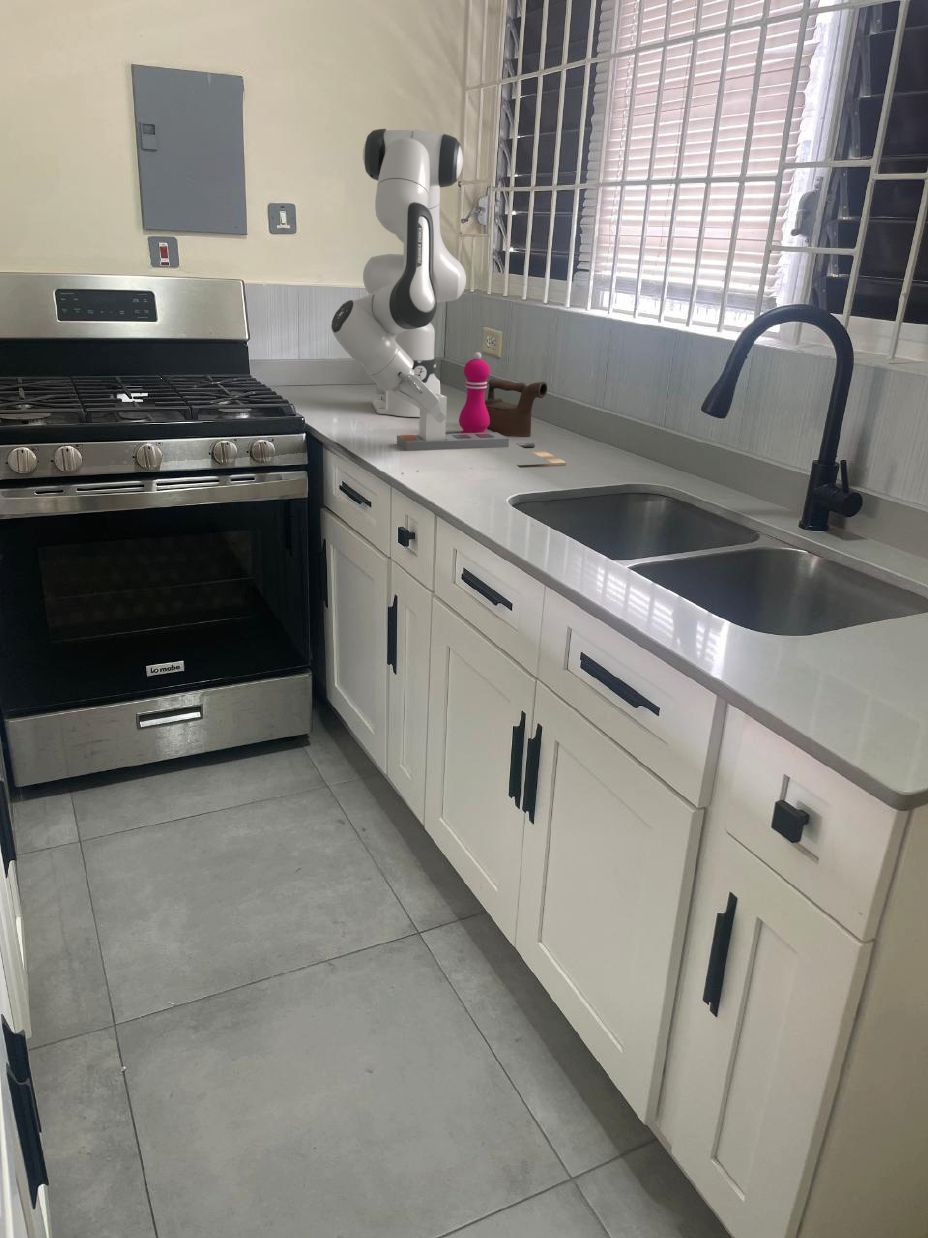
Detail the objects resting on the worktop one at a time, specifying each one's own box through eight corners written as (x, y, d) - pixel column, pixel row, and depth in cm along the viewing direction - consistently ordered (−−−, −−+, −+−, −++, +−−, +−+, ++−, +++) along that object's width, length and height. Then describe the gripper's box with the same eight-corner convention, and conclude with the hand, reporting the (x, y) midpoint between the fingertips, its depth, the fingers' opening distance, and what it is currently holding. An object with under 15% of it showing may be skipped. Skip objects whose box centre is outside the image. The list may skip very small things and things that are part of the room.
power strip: (396, 449, 207) (396, 432, 206) (527, 443, 218) (528, 428, 217) (406, 456, 201) (406, 439, 200) (540, 450, 212) (541, 434, 211)
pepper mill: (485, 444, 216) (490, 355, 208) (455, 441, 217) (459, 352, 209) (491, 437, 223) (496, 351, 215) (461, 435, 224) (465, 349, 216)
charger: (418, 444, 207) (420, 392, 203) (437, 443, 209) (439, 392, 204) (425, 448, 203) (427, 396, 199) (444, 447, 205) (446, 396, 200)
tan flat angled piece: (499, 455, 206) (499, 452, 205) (544, 453, 210) (544, 450, 209) (520, 467, 196) (520, 464, 196) (566, 465, 200) (566, 462, 200)
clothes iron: (529, 441, 222) (533, 383, 216) (476, 430, 231) (479, 374, 226) (548, 436, 227) (552, 380, 222) (496, 426, 237) (499, 371, 231)
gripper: (419, 366, 187) (462, 414, 195) (389, 352, 205) (429, 396, 212) (397, 389, 188) (441, 436, 195) (369, 373, 205) (410, 417, 212)
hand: (435, 415), depth 204 cm, fingers open, 8 cm apart
